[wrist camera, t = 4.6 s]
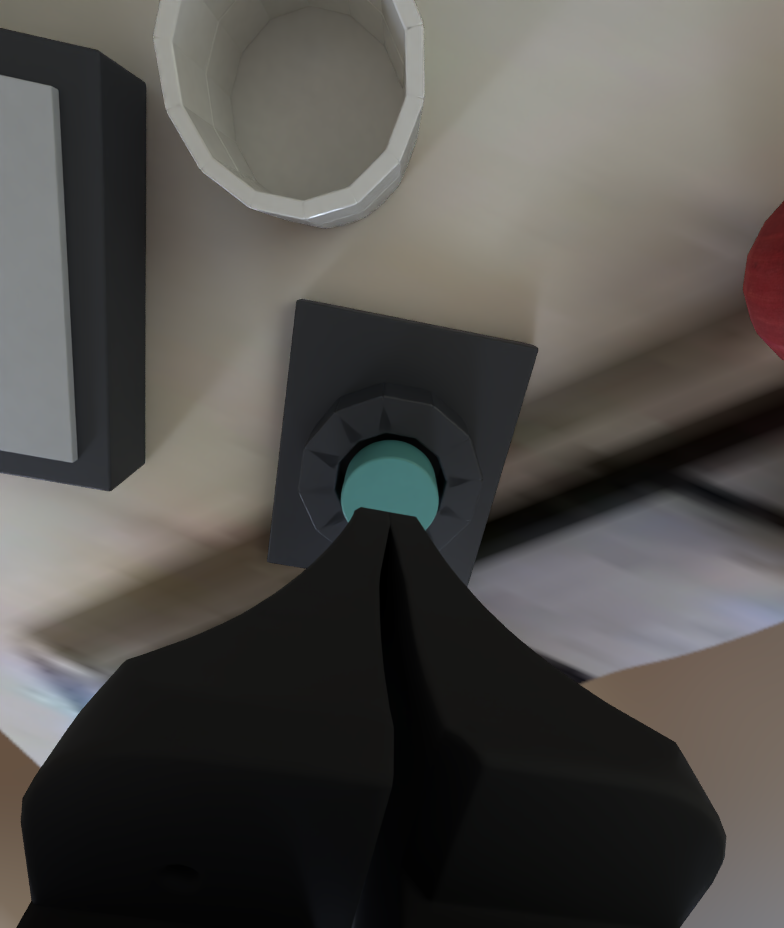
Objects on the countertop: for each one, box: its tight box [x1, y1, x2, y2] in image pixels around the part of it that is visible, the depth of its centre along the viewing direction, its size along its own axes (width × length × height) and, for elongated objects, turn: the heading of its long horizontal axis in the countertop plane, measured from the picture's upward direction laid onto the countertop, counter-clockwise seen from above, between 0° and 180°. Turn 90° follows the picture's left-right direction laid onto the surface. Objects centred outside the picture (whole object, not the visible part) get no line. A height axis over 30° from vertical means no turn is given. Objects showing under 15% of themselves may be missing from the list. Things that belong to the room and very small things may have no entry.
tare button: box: [341, 440, 439, 530], centre depth 16 cm, size 3×3×2 cm
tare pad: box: [267, 299, 538, 587], centre depth 18 cm, size 10×8×2 cm
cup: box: [153, 0, 425, 229], centre depth 13 cm, size 6×6×4 cm
